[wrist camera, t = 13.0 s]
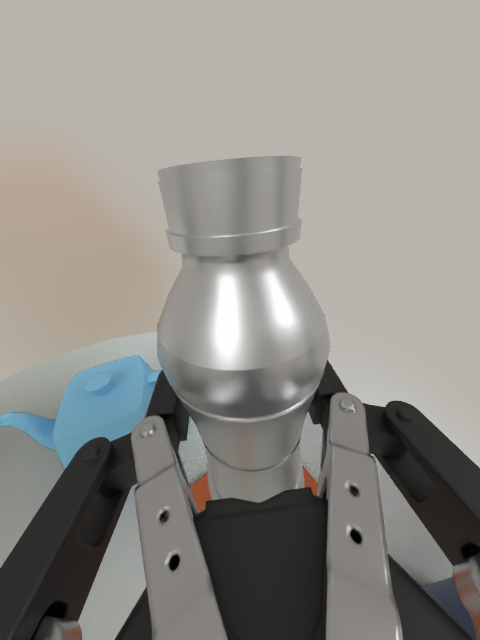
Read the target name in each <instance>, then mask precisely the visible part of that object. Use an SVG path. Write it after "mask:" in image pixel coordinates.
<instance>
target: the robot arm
mask: <svg viewBox="0 0 480 640" xmlns="http://www.w3.org/2000/svg"><path fill="white" fill-rule="evenodd" d="M308 411H309V414H310V417H311V419H312V422H313V424H321V426H322V429H323V433H322V446H321V461H320V474H319V481H318V489H317V495H313V492H312V489H311V487H306V488H298V489H291V490H285V491H283V492H281V493H279V494H277V495H275V496H273V497H271V498H269V499H267V500H265V501H263V502H260V503H257V502H252V501H247V500H242V499H237V498H225V499H217V500H210V501H206V506H205V510H203V511H201V512H199V509H198V506H197V503H196V501H195V498H194V496H193V493H192V490H191V488H190V485H189V482H188V479H187V476H186V472H185V469H184V466H183V463H182V460H181V457H180V454H179V452H178V449H179V443H180V441H184V440H187V432H188V424H189V416H190V415H189V413H188V412H187V410H186V409H185V407H184V405H183V404H182V402H181V401H180V399H179V398H178V396H177V394H176V393H175V391H174V389H173V388H172V387H171V385H170V384H169V382H168V379H167V377H166V375H165V373H164V371H163V370H162V371H161V372H160V373H159V375H158V378H157V381H156V384H155V388H154V391H153V394H152V397H151V400H150V403H149V406H148V410H147V413H146V416H145V418H144V419H143V420H141V421H140V422H139V423H138V424H137V425H136V426H135V427H134V429H133V431H132V432H131V433H129V434H127V435H124V436H122V437H120V438H117V439H115V440H113V441H109V440H108V439H107V438H105V437H97V438H94V439H92V440H90V441H88V442H87V443H85V444H84V445H83V446H82V447H81V448H80V449H79V450H78V451H77V452H76V454H75V455H74V457H73V458H72V460H71V461H70V463H69V464H68V466H67V467H66V469H65V470H64V472H63V474H62V475H61V477H60V478H59V480H58V481H57V483H56V484H55V486H54V487H53V489H52V490H51V492H50V493H49V495H48V497H47V498H46V500H45V501H44V503H43V504H42V506H41V507H40V509H39V510H38V512H37V513H36V515H35V516H34V518H33V520H32V521H31V523H30V524H29V526H28V527H27V529H26V530H25V532H24V533H23V535H22V536H21V538H20V540H19V541H18V543H17V544H16V546H15V547H14V549H13V550H12V552H11V553H10V555H9V556H8V558H7V559H6V561H5V563H4V564H3V566H2V567H1V569H0V640H82V632H81V628H80V625H79V624H78V619H79V617H80V614H81V612H82V609H83V607H84V604H85V602H86V599H87V597H88V594H89V592H90V589H91V587H92V584H93V582H94V579H95V577H96V574H97V572H98V569H99V567H100V564H101V562H102V559H103V557H104V554H105V552H106V549H107V547H108V544H109V542H110V539H111V536H112V534H113V531H114V529H115V526H116V524H117V521H118V519H119V516H120V514H121V511H122V509H123V506H124V504H125V501H126V499H127V496H128V494H129V491H130V489H131V486H133V485H135V484H137V483H138V486H137V487H136V488H135V503H136V511H137V518H138V526H139V533H140V541H141V548H142V556H143V563H144V570H145V578H146V585H147V587H146V588H145V590H144V592H143V593H142V595H141V597H140V598H139V600H138V602H137V603H136V605H135V607H134V608H133V610H132V612H131V613H130V615H129V617H128V618H127V620H126V622H125V623H124V625H123V627H122V628H121V630H120V632H119V633H118V635H117V637H116V638H115V640H474V639H473V638H472V637H471V636H470V635H469V634H468V633H467V632H466V631H465V630H464V629H463V628H462V627H461V626H460V625H459V624H458V623H457V622H456V621H455V620H454V619H453V618H452V617H451V616H450V615H449V614H448V613H447V612H446V611H445V610H444V609H443V608H442V607H441V606H440V605H439V604H438V603H437V602H436V601H435V600H434V599H433V598H432V597H431V596H430V595H429V594H428V593H427V592H426V591H425V590H424V589H423V588H422V587H421V586H420V585H419V584H418V583H417V582H416V581H415V580H414V579H413V578H412V577H411V576H410V575H409V574H408V573H407V572H406V571H405V570H404V569H403V568H402V567H401V566H400V565H399V564H398V563H397V562H396V561H395V560H394V559H393V558H392V557H391V556H390V555H389V554H388V553H387V545H386V537H385V529H384V521H383V513H382V505H381V497H380V489H379V481H378V473H377V466H376V461H375V459H374V457H373V456H371V455H370V453H371V454H374V455H375V456H376V458H377V459H378V461H379V462H380V463H381V465H382V466H383V468H384V469H385V471H386V472H387V473H388V475H389V476H390V478H391V479H392V480H393V482H394V483H395V485H396V486H397V487H398V489H399V490H400V492H401V493H402V494H403V496H404V497H405V499H406V500H407V502H408V503H409V504H410V506H411V507H412V509H413V510H414V511H415V513H416V514H417V516H418V517H419V518H420V520H421V521H422V523H423V524H424V526H425V527H426V528H427V530H428V531H429V533H430V534H431V535H432V537H433V538H434V540H435V541H436V542H437V544H438V545H439V547H440V548H441V549H442V551H443V552H444V554H445V555H446V557H447V558H448V559H449V561H450V562H451V564H452V565H453V566H454V568H453V580H454V584H455V587H456V590H457V592H458V595H459V598H460V600H461V602H462V603H463V605H464V606H465V607H466V609H467V610H468V613H469V615H470V617H471V619H472V622H473V625H474V628H475V632H476V640H480V468H479V467H478V466H477V465H476V464H475V463H474V462H472V461H471V460H470V459H469V458H468V457H467V456H466V455H465V454H464V453H463V452H462V451H461V450H460V449H459V448H458V447H457V446H456V445H455V444H453V442H451V441H450V440H449V439H448V438H447V437H446V436H445V435H444V434H443V433H442V432H441V431H440V430H439V429H438V428H437V427H436V426H435V425H434V424H433V423H432V422H430V421H429V420H428V419H427V418H426V417H425V416H424V415H423V414H422V413H421V412H420V411H419V410H418V409H416V408H415V407H414V406H412V405H410V404H408V403H405V402H402V401H391V402H389V403H388V404H387V405H386V407H380V406H374V405H368V404H364V403H362V402H361V401H360V400H359V399H358V398H357V397H355V396H353V395H351V394H349V393H348V392H347V390H346V389H345V387H344V385H343V384H342V382H341V381H340V379H339V377H338V376H337V374H336V373H335V371H334V370H333V368H332V366H331V364H329V361H328V360H327V362H326V366H325V369H324V373H323V377H322V378H321V380H320V383H319V386H318V388H317V390H316V393H315V395H314V398H313V400H312V402H311V405H310V407H309V410H308Z"/></svg>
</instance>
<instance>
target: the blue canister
mask: <svg viewBox="0 0 480 640" xmlns="http://www.w3.org/2000/svg"><path fill="white" fill-rule="evenodd" d="M422 588H423V589H424V590H425V591H426V592H427V593H428V594H429V595H430V596H431V597H432V598H433V599H434V600H435V601H436V602H437V603H438V604H439V605H440V606H441V607H442V608H443V609H444V610H445V611H446V612H447V613H448V614H449V615H450V616H451V617H452V618H453V619H454V620H455V621H456V622H457V623H458V624H459V625H460V626H461V627H462V628H463V629H464V630H465V631H466V632H467V633H468V634H469V635H470V636H471V637H472V638H473V639H474V640H476V632H475V628H474V625H473V622H472V619H471V617H470V615H469V613H468V610H467V609H466V607H465V606H464V605H463V603H462V602H461V600H460V598H459V595H458V592H457V590H456V587H455V584H454V580H453V577H451V578H448V579H445V580H442V581H438V582H435V583H432V584H429V585H426V586H423V587H422Z"/></svg>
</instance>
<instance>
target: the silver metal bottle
mask: <svg viewBox="0 0 480 640" xmlns="http://www.w3.org/2000/svg"><path fill="white" fill-rule="evenodd" d="M300 164H301V158H300V157H295V156H294V157H293V156H270V157H269V156H268V157H249V158H236V159H225V160H215V161H207V162H199V163H192V164H185V165H179V166H173V167H168V168H165V169H161V170H159V171H158V175H159V179H160V181H159V187H160V191H161V195H162V200H163V204H164V208H165V212H166V217H167V222H168V225H169V228H168V229H167V230H166V233H167V238H168V241H169V246H170V249H171V250H173V251H175V252H178V253H181V254H182V268H181V270H180V272H179V274H178V276H177V278H176V280H175V282H174V284H173V286H172V288H171V290H170V292H169V294H168V297H167V300H166V303H165V305H164V308H163V311H162V314H161V316H160V319H159V322H158V325H157V357H158V359H159V362H160V365H161V368H162V369H163V371H164V373H165V375H166V377H167V379H168V382H169V384H170V385H171V387H172V388H173V389H174V391H175V393H176V394H177V396H178V398H179V399H180V401H181V402H182V404H183V405H184V407H185V409H186V410H187V412H188V413H189V415H190V416H191V418H192V420H193V421H194V423H195V424H196V426H197V429H198V431H199V433H200V436H201V438H202V440H203V443H204V445H205V448H206V454H207V460H208V461H207V478H208V487H209V492H210V496H211V499H212V500H217V499H225V498H237V499H242V500H247V501H252V502H257V503H260V502H263V501H265V500H267V499H269V498H271V497H273V496H275V495H277V494H279V493H281V492H283V491H285V490H291V489H298V488H304V473H303V467H302V461H301V457H300V438H301V433H302V429H303V425H304V420H305V417H306V414H307V412H308V410H309V407H310V405H311V402H312V400H313V398H314V395H315V393H316V390H317V388H318V386H319V383H320V380H321V378H322V377H323V373H324V369H325V366H326V362H327V359H328V355H329V351H330V341H329V334H328V329H327V324H326V319H325V315H324V313H323V311H322V309H321V307H320V305H319V303H318V302H317V300H316V298H315V296H314V294H313V292H312V291H311V289H310V287H309V285H308V284H307V282H306V281H305V279H304V278H303V276H302V275H301V274H300V272H299V271H298V269H297V268H296V267H295V265H294V264H293V262H292V261H291V260H290V257H289V248H288V245H291V244H292V243H295V242H296V241H297V240H299V239H300V229H301V219H300V218H298V208H299V196H300V185H301V173H302V169H301V168H300Z"/></svg>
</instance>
